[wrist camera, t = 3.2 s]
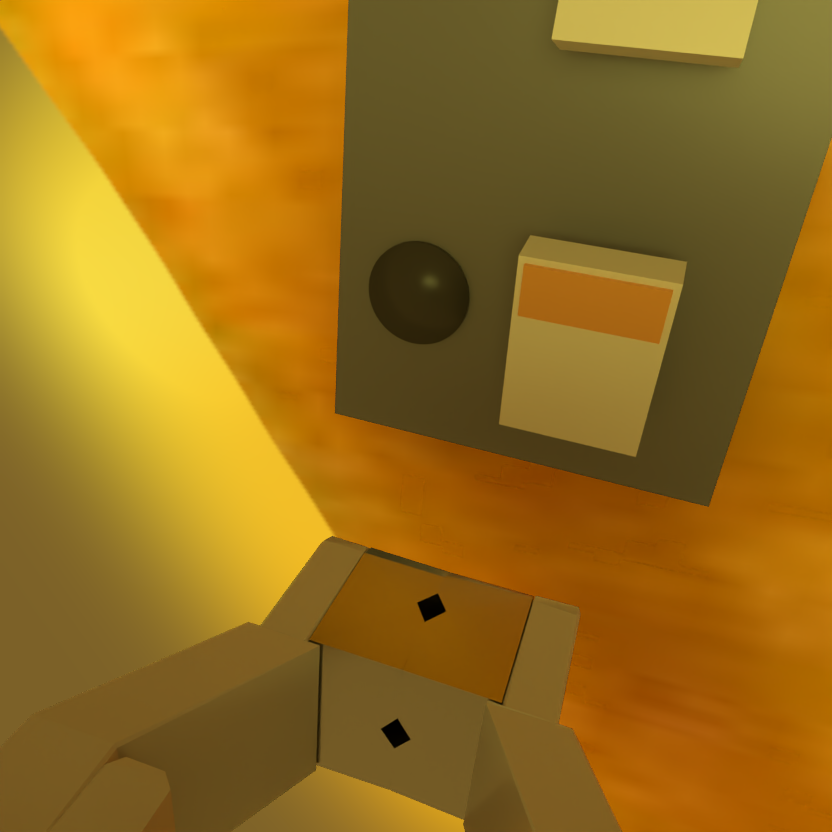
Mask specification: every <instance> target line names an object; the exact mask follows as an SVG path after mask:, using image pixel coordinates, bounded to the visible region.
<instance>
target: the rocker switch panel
mask: <svg viewBox="0 0 832 832" xmlns="http://www.w3.org/2000/svg"><path fill="white" fill-rule="evenodd" d="M557 6H558V0H349V6H348V36H347V66H346V97H345V127H344V157H343V188H342V218H341V248H340V279H339V309H338V339H337V370H336V400H335V413H336V414H340V415H344V416H348V417H352V418H356V419H360V420H364V421H368V422H372V423H376V424H380V425H384V426H388V427H392V428H396V429H400V430H404V431H408V432H412V433H416V434H420V435H424V436H428V437H432V438H436V439H440V440H444V441H448V442H452V443H456V444H460V445H464V446H468V447H472V448H476V449H480V450H484V451H488V452H492V453H496V454H500V455H504V456H508V457H512V458H516V459H520V460H524V461H528V462H532V463H536V464H540V465H544V466H548V467H552V468H556V469H560V470H564V471H568V472H572V473H576V474H580V475H584V476H588V477H592V478H596V479H600V480H604V481H608V482H612V483H616V484H620V485H624V486H628V487H632V488H636V489H640V490H644V491H648V492H652V493H656V494H660V495H664V496H668V497H672V498H676V499H680V500H684V501H688V502H692V503H696V504H700V505H704V506H708V507H709V504H710V501H711V498H712V495H713V492H714V489H715V486H716V483H717V480H718V477H719V474H720V471H721V468H722V465H723V462H724V459H725V456H726V453H727V450H728V447H729V444H730V441H731V438H732V435H733V432H734V429H735V426H736V423H737V420H738V417H739V414H740V411H741V408H742V405H743V402H744V399H745V396H746V393H747V390H748V387H749V384H750V381H751V378H752V375H753V372H754V369H755V366H756V363H757V360H758V357H759V354H760V351H761V348H762V345H763V342H764V339H765V336H766V333H767V330H768V327H769V324H770V321H771V318H772V315H773V312H774V309H775V306H776V303H777V300H778V297H779V294H780V291H781V288H782V285H783V282H784V279H785V276H786V273H787V270H788V267H789V264H790V261H791V258H792V255H793V252H794V249H795V246H796V243H797V240H798V237H799V234H800V231H801V228H802V225H803V222H804V219H805V216H806V213H807V210H808V207H809V204H810V201H811V198H812V195H813V192H814V189H815V186H816V183H817V180H818V177H819V174H820V171H821V168H822V165H823V162H824V159H825V156H826V153H827V150H828V147H829V144H830V141H831V138H832V0H758V3H757V7H756V11H755V15H754V19H753V23H752V27H751V31H750V34H749V38H748V42H747V46H746V50H745V54H744V58H743V60H742V62H741V64H740V66H739V68H733V67H724V66H714V65H704V64H695V63H685V62H675V61H666V60H656V59H646V58H637V57H627V56H618V55H608V54H598V53H589V52H579V51H569V50H560V49H559V48H558V47H557V46H556V44H555V43H554V42H553V41H552V34H553V28H554V22H555V17H556V11H557ZM530 235H533V236H538V237H544V238H550V239H556V240H562V241H568V242H574V243H580V244H585V245H591V246H597V247H603V248H609V249H615V250H621V251H627V252H632V253H638V254H644V255H650V256H656V257H662V258H668V259H674V260H679V261H685V262H687V265H686V271H685V277H684V282H683V287H682V290H681V294H680V298H679V301H678V305H677V309H676V312H675V316H674V320H673V323H672V327H671V331H670V334H669V338H668V341H667V345H666V349H665V352H664V356H663V360H662V363H661V367H660V371H659V374H658V378H657V382H656V385H655V389H654V393H653V396H652V400H651V403H650V407H649V411H648V414H647V418H646V422H645V425H644V429H643V433H642V436H641V440H640V444H639V447H638V451H637V454H636V457H634V456H629V455H625V454H621V453H617V452H613V451H609V450H604V449H600V448H596V447H592V446H588V445H584V444H579V443H575V442H571V441H567V440H563V439H559V438H554V437H550V436H546V435H542V434H538V433H534V432H529V431H525V430H521V429H517V428H513V427H508V426H504V425H500V424H499V419H500V410H501V402H502V393H503V385H504V376H505V368H506V359H507V351H508V342H509V334H510V325H511V317H512V308H513V300H514V291H515V283H516V274H517V266H518V257H519V254H520V252H521V250H522V249H523V247H524V245H525V244H526V242H527V240H528V238H529V237H530Z"/></svg>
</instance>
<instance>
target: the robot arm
mask: <svg viewBox="0 0 832 832" xmlns="http://www.w3.org/2000/svg"><path fill="white" fill-rule="evenodd" d="M533 600H534V601H533ZM579 619H580V610H579V607H576V606H572V605H569V604H565V603H561V602H557V601H554V600H550V599H546V598H542V597H539V596H535V598H534V596H532V595H528V594H525V593H521V592H518V591H514V590H511V589H507V588H504V587H500V586H496V585H493V584H489V583H486V582H482V581H479V580H475V579H472V578H468V577H465V576H461V575H458V574H454V573H450V572H447V571H444V570H441V569H438V568H434V567H431V566H428V565H425V564H422V563H419V562H415V561H412V560H409V559H406V558H403V557H400V556H396V555H393V554H390V553H387V552H384V551H381V550H377V549H374V548H368V547H365V546H362V545H359V544H356V543H352V542H349V541H346V540H343V539H340V538H337V537H333V536H332V537H330V538H328V539H326V540H325V541H323V542H322V543H321V544H320V545H319V547H318V548H317V550H316V551H315V552H314V554H313V555H312V556H311V558H310V559H309V560H308V562H307V563H306V564H305V566H304V567H303V568H302V570H301V571H300V573H299V574H298V575H297V577H296V578H295V579H294V581H293V582H292V583H291V585H290V586H289V587H288V589H287V590H286V591H285V593H284V594H283V596H282V597H281V598H280V600H279V601H278V602H277V604H276V605H275V606H274V608H273V609H272V610H271V612H270V614H269V615H268V616H267V617H266V619H265V620H264V621H263V623H262V624H261V625H256V624H253V623H250V622H247V623H245V624H243V625H240V626H238V627H236V628H233V629H231V630H228V631H226V632H224V633H221V634H219V635H217V636H215V637H212V638H210V639H208V640H205V641H203V642H200V643H198V644H196V645H194V646H191V647H189V648H186V649H184V650H182V651H179V652H177V653H175V654H172V655H170V656H168V657H165V658H163V659H161V660H158V661H156V662H153V663H151V664H149V665H146V666H144V667H142V668H140V669H137V670H135V671H132V672H130V673H128V674H126V675H123V676H121V677H118V678H116V679H114V680H111V681H109V682H107V683H104V684H102V685H100V686H97V687H95V688H93V689H90V690H88V691H85V692H83V693H81V694H78V695H76V696H74V697H71V698H69V699H67V700H64V701H62V702H60V703H58V704H55V705H53V706H50V707H48V708H46V709H43V710H41V711H39V712H36V713H34V714H32V715H31V716H30V717H29V718H28V719H27V720H26V721H25V722H24V723H23V724H22V725H21V726H20V727H19V728H18V729H17V731H16V732H14V733H13V734H12V735H11V736H10V738H9V739H8V740H7V741H6V742H5V743H4V744H3V745H2V746H1V747H0V832H231V831H232V830H234V829H235V828H236V827H238V826H239V825H241V824H242V823H243V822H245V821H246V820H248V819H249V818H250V817H252V816H253V815H255V814H256V813H257V812H258V811H260V810H261V809H263V808H264V807H266V806H267V805H268V804H270V803H271V802H272V801H274V800H275V799H277V798H278V797H279V796H281V795H282V794H283V793H285V792H286V791H288V790H289V789H290V788H292V787H293V786H295V785H296V784H297V783H299V782H300V781H302V780H303V779H304V778H306V777H307V776H308V775H310V774H311V773H312V772H314V771H315V770H316V765H319V766H321V767H324V768H327V769H330V770H333V771H336V772H339V773H342V774H345V775H347V776H351V777H353V778H356V779H359V780H362V781H365V782H368V783H371V784H374V785H377V786H380V787H383V788H386V789H390V790H391V791H394V792H396V793H399V794H401V795H404V796H406V797H409V798H411V799H414V800H416V801H419V802H421V803H424V804H426V805H428V806H431V807H433V808H436V809H438V810H441V811H443V812H446V813H448V814H451V815H453V816H456V817H459V818H461V819H463V820H464V823H463V825H464V829H465V832H622V830H621V828H620V826H619V824H618V822H617V820H616V818H615V816H614V814H613V812H612V810H611V807H610V805H609V803H608V801H607V799H606V797H605V795H604V793H603V791H602V789H601V787H600V785H599V782H598V780H597V778H596V776H595V774H594V772H593V770H592V768H591V766H590V764H589V762H588V760H587V757H586V755H585V753H584V751H583V749H582V747H581V745H580V743H579V741H578V739H577V737H576V735H575V732H574V730H573V729H571V728H569V727H566V726H563V725H560V724H559V719H560V714H561V709H562V704H563V699H564V694H565V689H566V684H567V679H568V674H569V669H570V664H571V659H572V654H573V649H574V644H575V639H576V634H577V629H578V624H579Z"/></svg>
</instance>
